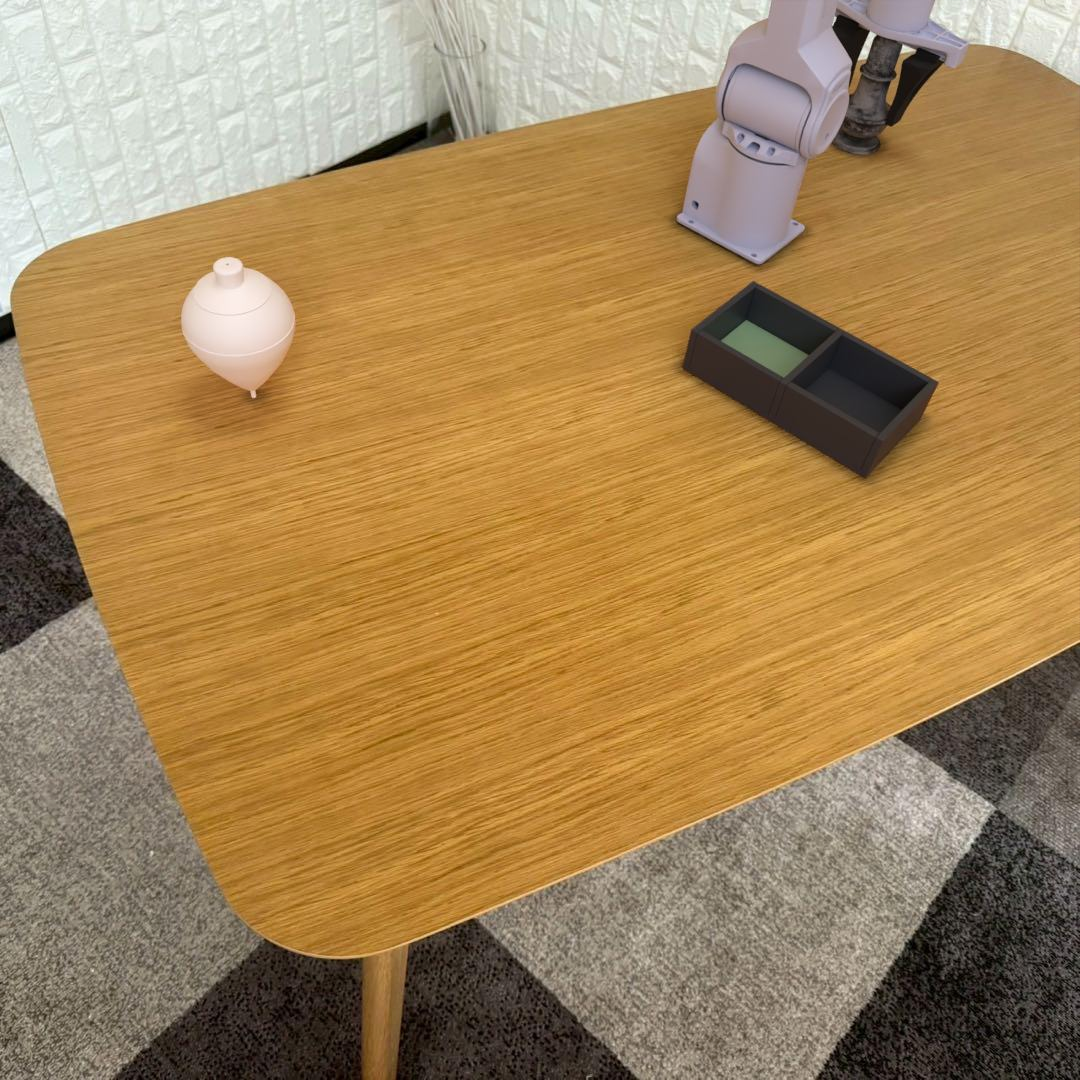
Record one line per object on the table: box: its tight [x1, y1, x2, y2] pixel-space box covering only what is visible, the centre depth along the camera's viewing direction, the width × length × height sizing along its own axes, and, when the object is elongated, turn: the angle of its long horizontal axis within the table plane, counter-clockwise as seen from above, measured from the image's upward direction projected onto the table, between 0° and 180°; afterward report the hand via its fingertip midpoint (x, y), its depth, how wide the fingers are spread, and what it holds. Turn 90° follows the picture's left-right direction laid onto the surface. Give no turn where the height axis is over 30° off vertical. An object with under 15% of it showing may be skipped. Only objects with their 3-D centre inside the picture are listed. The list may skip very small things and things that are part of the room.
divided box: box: [682, 280, 940, 479], centre depth 79 cm, size 17×9×4 cm, turn 49°
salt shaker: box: [831, 34, 904, 156], centre depth 101 cm, size 6×6×12 cm
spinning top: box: [180, 256, 296, 399], centre depth 72 cm, size 8×8×12 cm
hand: (865, 110), depth 103 cm, fingers closed on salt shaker, 6 cm apart
